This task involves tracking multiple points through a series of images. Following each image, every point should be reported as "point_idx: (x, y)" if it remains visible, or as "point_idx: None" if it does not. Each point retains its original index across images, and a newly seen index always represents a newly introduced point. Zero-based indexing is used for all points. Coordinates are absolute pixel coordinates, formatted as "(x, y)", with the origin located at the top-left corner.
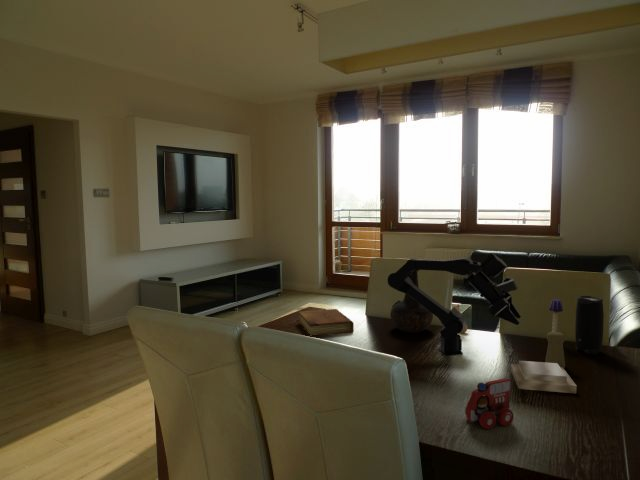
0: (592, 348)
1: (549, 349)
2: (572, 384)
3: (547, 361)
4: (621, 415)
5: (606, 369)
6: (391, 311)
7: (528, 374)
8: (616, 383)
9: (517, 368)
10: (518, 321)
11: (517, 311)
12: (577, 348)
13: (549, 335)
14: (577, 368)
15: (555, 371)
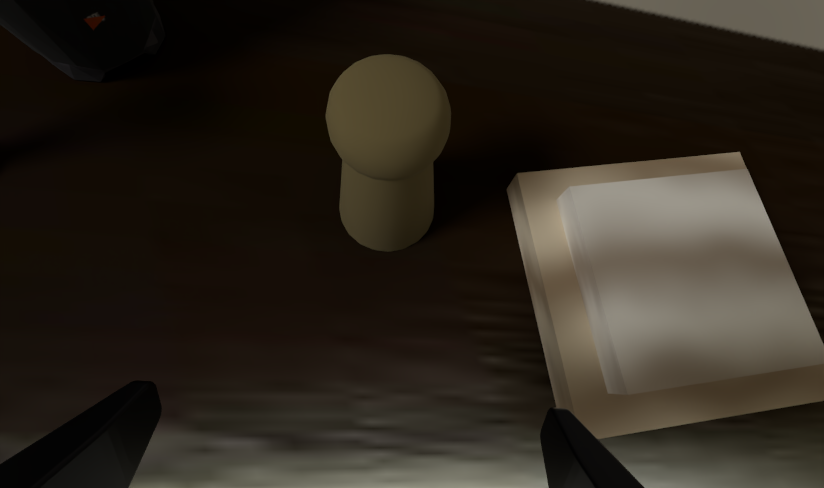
0: (152, 5)
1: (416, 196)
2: (733, 164)
3: (413, 233)
4: (818, 74)
5: (370, 24)
6: None
7: (816, 343)
8: (526, 27)
9: (650, 400)
10: (575, 424)
11: (58, 449)
12: (105, 70)
13: (425, 148)
14: None
15: (707, 208)
